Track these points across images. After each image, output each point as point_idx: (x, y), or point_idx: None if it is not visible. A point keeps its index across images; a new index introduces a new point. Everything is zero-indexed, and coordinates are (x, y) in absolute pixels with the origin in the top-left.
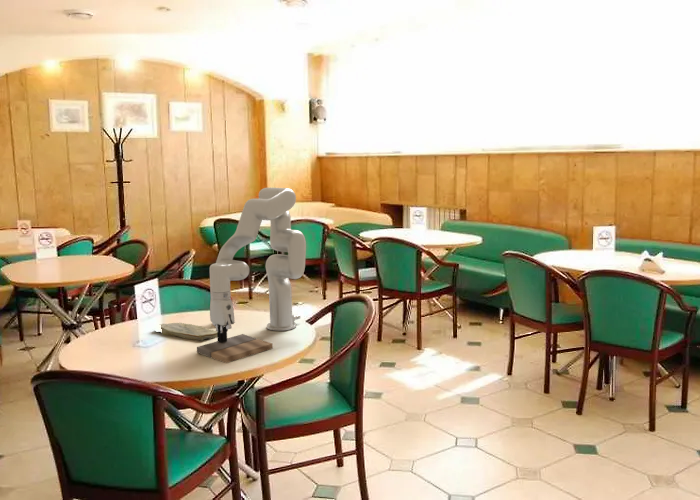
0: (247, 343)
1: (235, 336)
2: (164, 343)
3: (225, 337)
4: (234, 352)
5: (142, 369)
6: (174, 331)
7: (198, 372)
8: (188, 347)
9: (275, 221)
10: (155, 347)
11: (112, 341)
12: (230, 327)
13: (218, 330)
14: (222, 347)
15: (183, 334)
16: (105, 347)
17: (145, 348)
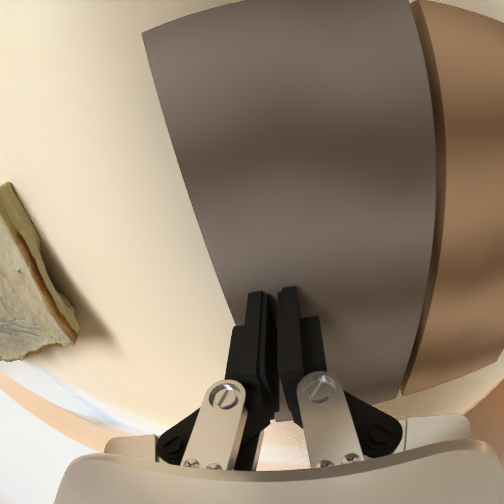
0: (477, 164)
1: (187, 142)
2: (84, 392)
3: (321, 338)
4: (501, 321)
5: (306, 464)
6: (8, 356)
7: (450, 407)
8: (163, 384)
9: None
10: (121, 417)
11: (55, 416)
12: (462, 432)
13: (263, 429)
14: (394, 348)
15: (29, 352)
16: (94, 438)
17: (123, 427)
